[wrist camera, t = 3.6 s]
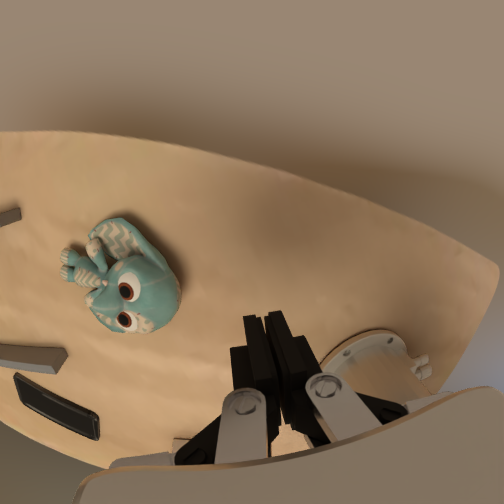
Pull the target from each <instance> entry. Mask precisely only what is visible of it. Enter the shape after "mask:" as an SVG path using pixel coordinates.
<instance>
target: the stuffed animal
mask: <svg viewBox="0 0 504 504" xmlns="http://www.w3.org/2000/svg"><path fill="white" fill-rule="evenodd" d="M88 237H89V238H90V241H89V242H88V243H87V245H86V247H85V248H86V251H87V253H88V255H89V257H87V256H85V257H81V256H80V255H79V254H78V253H77V251H75V250H73V249H70V248H64V249H63V250H62V251H61V255H60V259H61V262H62V263H64V265H63V266H62V267H61V271H60V275H61V278H62V279H64V280H65V281H68V282H76V284H77V285H79V286H81V287H95V288H98V289H97V290H94V291H91V292H89V293H88V294H87V295H86V296H85V298H84V301H85V304H86V305H87V306H88V307H89V308H90V310H91V311H92V312H93V314H94V315H95V316H96V318H97V319H98V320H99V321H100V322H101V323H102V324H103V325H105V326H106V327H107V328H109V329H110V330H111V331H114V332H121V333H124V332H128V333H140V334H149V333H151V332H153V331H155V330H157V329H159V328H161V327H163V326H165V325H166V324H167V323H169V322H170V321H171V319H172V318H173V316H174V315H175V314H176V312H177V311H178V309H179V306H180V303H181V295H182V293H181V289H180V285H179V281H178V280H177V278H176V276H175V274H174V273H173V272H172V270H171V269H170V268H169V266H168V264H167V262H166V260H165V258H164V257H163V256H162V254H161V253H160V252H159V251H158V250H157V249H156V248H155V247H154V246H153V245H151V244H150V243H149V242H148V241H147V240H146V239H145V237H144V236H143V235H142V234H141V233H140V232H139V230H138V229H137V228H135V227H134V226H133V225H131V224H130V223H129V222H127V221H126V220H124V219H123V218H114V219H108V220H104V221H103V222H102V223H100V224H99V225H98V226H96V227H95V228H93V229H92V230H91V232H90V233H89V235H88ZM103 252H105V253H106V254H107V255H108V256H109V257H111V258H113V259H115V260H117V261H118V262H117V263H115V264H114V265H113V266H112V267H111V269H110V270H108V265H107V263H106V260H105V256H104V253H103ZM73 266H75V268H74V267H73Z"/></svg>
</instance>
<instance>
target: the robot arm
mask: <svg viewBox="0 0 504 504" xmlns="http://www.w3.org/2000/svg"><path fill="white" fill-rule="evenodd" d="M268 315H269V316H264V320H265V330H266V334H265V330H264V327H263V323H262V320H261V317H257V318H256V315H248V316H243V321H244V328H245V334H246V341H247V345H246V346H239V347H232V348H230V356H231V366H232V377H233V387H234V391H232V392H231V393H229V394H228V395H227V396H226V397H225V399H224V402H223V407H222V414H221V415H220V416H218V417H217V418H216V419H215V420H214V421H213V422H211V423H210V424H209V425H208V426H207V427H206V428H204V429H203V430H202V431H201V432H200V433H198V434H197V435H196V436H195V437H193V438H192V439H191V440H190V441H188V442H187V443H186V444H185V445H183V446H182V447H181V448H180V449H179V450H178V451H177V452H175V453H170V454H169V452H162V453H156V454H150V455H143V456H135V457H126V458H120V459H117V460H115V461H114V462H112V463H111V465H110V466H109V469H107V470H103V471H99V472H96V473H94V474H91V475H90V476H88V477H86V478H85V479H84V480H83V481H82V482H81V484H80V485H79V487H78V489H77V491H76V494H75V496H74V499H73V502H72V504H504V394H503V393H502V392H500V391H499V390H497V389H495V388H493V387H489V386H480V387H474V388H468V389H465V390H462V391H458V392H455V393H453V392H449V391H448V392H442V393H439V394H435V395H431V393H430V392H429V391H428V390H427V389H426V387H425V386H424V385H423V384H422V383H421V380H423V379H425V378H427V377H429V376H431V374H432V368H431V366H430V365H429V364H428V362H429V357H428V355H427V354H426V353H425V354H423V355H420V356H418V357H416V358H414V359H413V358H410V357H409V356H408V355H407V347H406V345H405V342H404V341H403V340H402V339H401V338H400V337H399V336H398V335H397V334H396V333H394V332H391V331H389V330H372V331H368V332H365V333H362V334H359V335H357V336H355V337H352V338H351V339H349V340H347V341H346V342H344V343H342V344H341V345H340V346H339V347H337V348H336V349H334V350H333V351H332V352H331V353H330V354H329V355H328V356H327V357H326V358H325V360H324V361H323V362H322V363H321V365H320V366H319V364H318V362H317V360H316V358H315V356H314V354H313V352H312V350H311V348H310V346H309V344H308V342H307V340H306V338H305V336H304V335H302V336H297V337H293V336H292V334H291V332H290V329H289V327H288V325H287V322H286V320H285V318H284V315H283V313H282V311H281V310H279V311H273V312H269V313H268ZM280 407H281V410H280ZM281 411H282V414H283V418H284V422H285V424H290V425H291V428H292V430H296V431H298V432H300V433H303V434H304V438H305V440H306V442H307V444H308V446H309V447H310V449H308V450H304V451H299V452H295V453H290V454H285V455H280V456H275V457H272V445H271V443H272V441H273V440H274V439H275V438H276V437H277V436H278V435H279V427H278V426H281Z"/></svg>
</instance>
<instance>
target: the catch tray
mask: <svg viewBox="0 0 504 504" xmlns="http://www.w3.org/2000/svg"><path fill="white" fill-rule="evenodd" d="M19 220H21V214H20V209H19V208H18V209H14V210H11V211H8V212H4V213H1V214H0V227H2V226H5V225H8V224H10V223H13V222H16V221H19ZM67 357H68V355H67V353H66V351H65V349H64V348H45V347H28V346H15V345H4V344H0V366H2V367H7V368H12V369H18V370H25V371H31V372H39V373H47V374H57V373H58V371H59V370H60V368H61V366H62V365H63V363H64V362H65V360H66V359H67Z"/></svg>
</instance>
